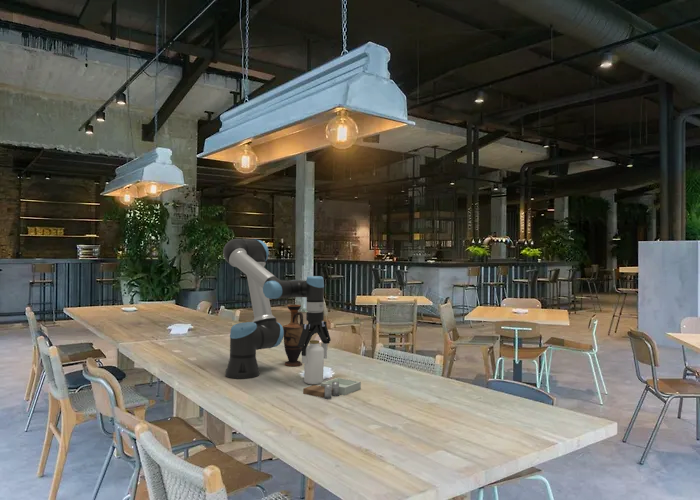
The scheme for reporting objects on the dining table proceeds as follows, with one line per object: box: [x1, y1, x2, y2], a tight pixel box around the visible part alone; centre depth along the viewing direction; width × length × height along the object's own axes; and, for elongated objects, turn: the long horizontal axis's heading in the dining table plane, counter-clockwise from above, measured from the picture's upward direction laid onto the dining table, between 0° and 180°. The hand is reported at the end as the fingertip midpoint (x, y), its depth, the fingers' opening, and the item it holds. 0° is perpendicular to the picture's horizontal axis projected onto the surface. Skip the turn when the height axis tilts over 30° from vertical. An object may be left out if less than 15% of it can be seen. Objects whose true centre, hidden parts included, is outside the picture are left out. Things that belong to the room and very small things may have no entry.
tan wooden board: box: [302, 384, 325, 399], centre depth 200 cm, size 10×7×2 cm
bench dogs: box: [323, 382, 340, 400], centre depth 196 cm, size 3×8×5 cm, turn 147°
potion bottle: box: [303, 339, 325, 385], centre depth 217 cm, size 8×8×18 cm
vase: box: [282, 304, 304, 367], centre depth 252 cm, size 11×11×30 cm
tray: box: [320, 377, 362, 396], centre depth 206 cm, size 12×12×3 cm
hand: (314, 360), depth 217 cm, fingers open, 13 cm apart
